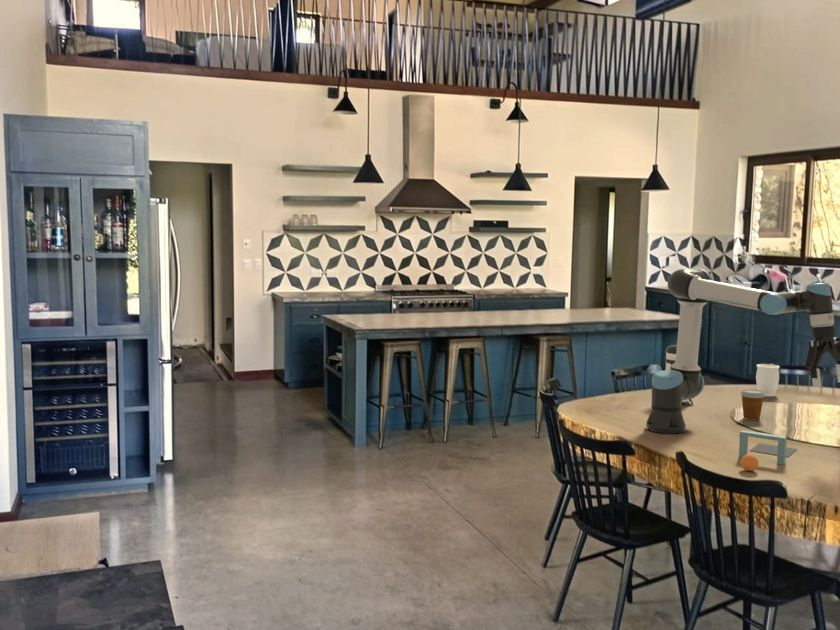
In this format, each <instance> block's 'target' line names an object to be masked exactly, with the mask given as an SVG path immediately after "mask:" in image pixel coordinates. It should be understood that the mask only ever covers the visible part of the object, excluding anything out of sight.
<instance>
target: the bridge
mask: <svg viewBox="0 0 840 630" xmlns="http://www.w3.org/2000/svg"><path fill="white" fill-rule="evenodd" d="M750 437H751V438H756V439H763V440H771V441H777V446H778V454H777V455H776V456H777V458H776V459H777V460H776V464H777V465H782V466H784V465H785V464H786V462H787V461H786V459H787V457H786V447H787V441H788V440H787V439H788V437H787V436H786V435H785V436H784V435H780V434H779V435H778V434H771V433H764V432H757V431H750V430H740V431H739V442H738V443H739V448H738V458H740V459H741V458H742V457H743V456H744V455H747V454H748V449H749V448H748V447H749V446H748V445H749V444H748V443H749V438H750Z"/></svg>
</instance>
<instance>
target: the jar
mask: <svg viewBox="0 0 840 630" xmlns="http://www.w3.org/2000/svg"><path fill="white" fill-rule="evenodd" d="M756 368H757V369H756V374H755V380H756V381H755V382H756V388H757V389H756V390H760V391H763V392H764V395H765V396H764V397H767V398H769V397H770V398H773V397H776V396H777V394H776V391H777V390H778V386H779V381H780V372H779V369H780V368H781V367H780V365H777V364H769V363H758V364H756Z"/></svg>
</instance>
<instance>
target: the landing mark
mask: <svg viewBox="0 0 840 630" xmlns="http://www.w3.org/2000/svg"><path fill="white" fill-rule="evenodd" d="M797 450H798V449H797V448H792V447H788V446H786V458H790V457H791V455H793V454H794V453H795V452H796V451H797ZM749 452H753V453H760V454H765V455H771V456H777V454H778V445H775V444H774V445H772V444H766V443H759V442H758V443H757V444H756V445H754V447H752V448H751V449H749Z"/></svg>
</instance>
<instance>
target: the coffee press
mask: <svg viewBox="0 0 840 630" xmlns="http://www.w3.org/2000/svg"><path fill="white" fill-rule="evenodd" d="M676 351H677V344H671V345H668V347H666V349H665V354H666V355H665V360H664V361H665V370H671V365H673V364H674V363H675V362H676ZM682 403H687V405H689V406H690V405H691V406H694V402H693V400H692V399H687V400H683V401H682Z"/></svg>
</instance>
